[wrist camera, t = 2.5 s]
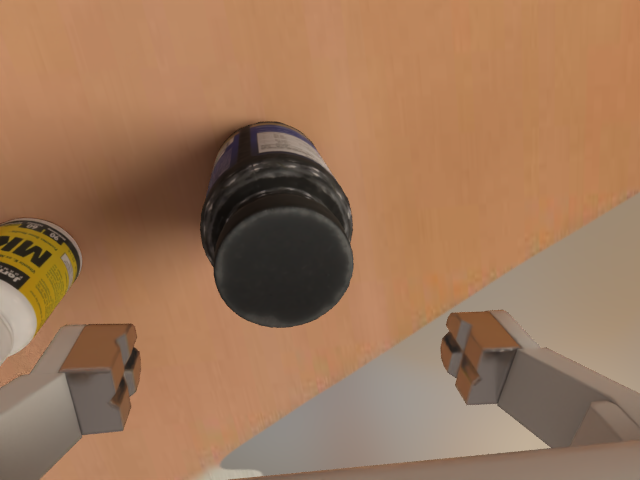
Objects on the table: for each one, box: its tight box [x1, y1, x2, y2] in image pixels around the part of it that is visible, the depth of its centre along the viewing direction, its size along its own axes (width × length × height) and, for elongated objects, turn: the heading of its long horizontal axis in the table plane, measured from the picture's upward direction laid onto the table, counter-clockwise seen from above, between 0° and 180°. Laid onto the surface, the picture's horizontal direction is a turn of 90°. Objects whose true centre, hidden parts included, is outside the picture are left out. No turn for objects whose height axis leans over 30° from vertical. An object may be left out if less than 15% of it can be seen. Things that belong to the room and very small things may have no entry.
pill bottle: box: [200, 122, 354, 328], centre depth 18 cm, size 6×6×11 cm
